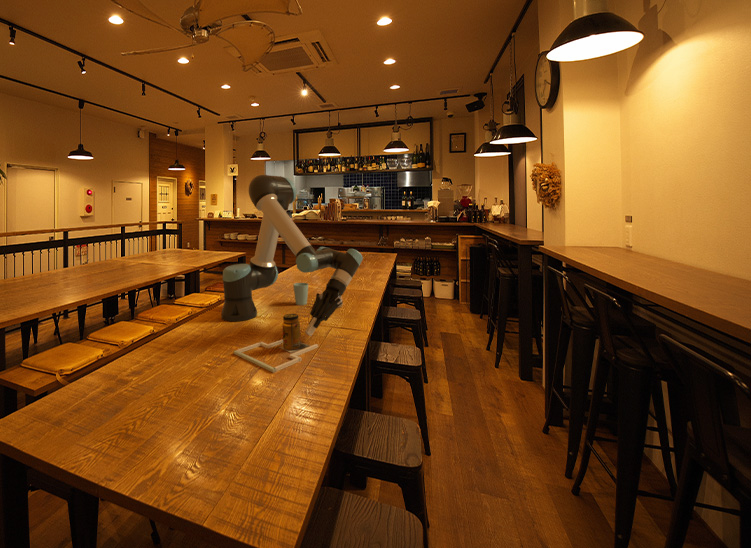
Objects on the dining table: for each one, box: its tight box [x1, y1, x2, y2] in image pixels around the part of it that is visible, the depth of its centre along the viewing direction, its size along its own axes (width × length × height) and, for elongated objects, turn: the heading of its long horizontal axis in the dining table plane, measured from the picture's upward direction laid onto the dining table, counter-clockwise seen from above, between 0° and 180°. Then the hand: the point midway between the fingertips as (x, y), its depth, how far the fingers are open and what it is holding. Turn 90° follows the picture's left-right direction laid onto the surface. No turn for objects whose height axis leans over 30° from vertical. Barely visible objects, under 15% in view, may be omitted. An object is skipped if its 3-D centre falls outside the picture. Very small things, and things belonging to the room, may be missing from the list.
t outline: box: [233, 338, 319, 374], centre depth 121 cm, size 22×22×1 cm
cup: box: [292, 282, 309, 306], centre depth 181 cm, size 8×8×10 cm
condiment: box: [278, 313, 310, 354], centre depth 125 cm, size 7×8×12 cm
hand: (307, 334), depth 131 cm, fingers closed
